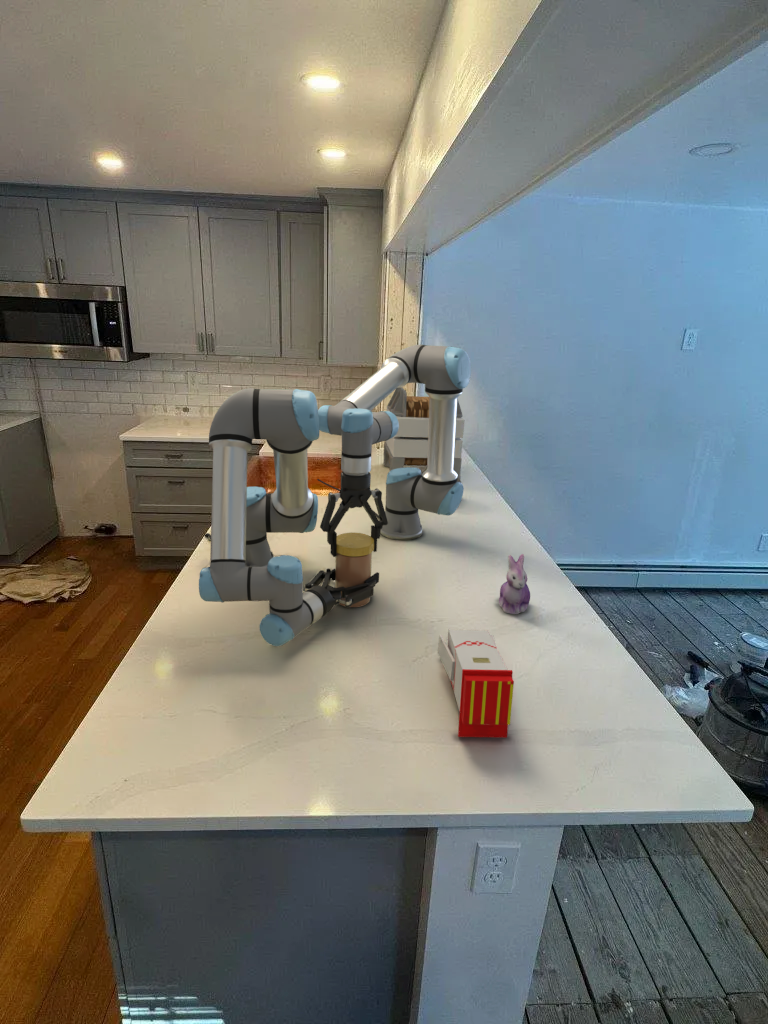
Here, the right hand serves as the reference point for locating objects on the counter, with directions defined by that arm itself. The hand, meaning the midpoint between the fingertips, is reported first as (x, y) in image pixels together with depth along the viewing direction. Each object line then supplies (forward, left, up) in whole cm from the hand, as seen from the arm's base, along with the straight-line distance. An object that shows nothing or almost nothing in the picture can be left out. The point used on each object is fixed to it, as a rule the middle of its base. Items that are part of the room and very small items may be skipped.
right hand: (353, 552), depth 150 cm
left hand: (-1, +4, -8) cm, 9 cm away
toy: (+46, -5, -14) cm, 49 cm away
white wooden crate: (-80, +103, -14) cm, 131 cm away
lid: (0, 0, +3) cm, 3 cm away
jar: (0, 0, -14) cm, 14 cm away
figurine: (+30, +32, -14) cm, 46 cm away
